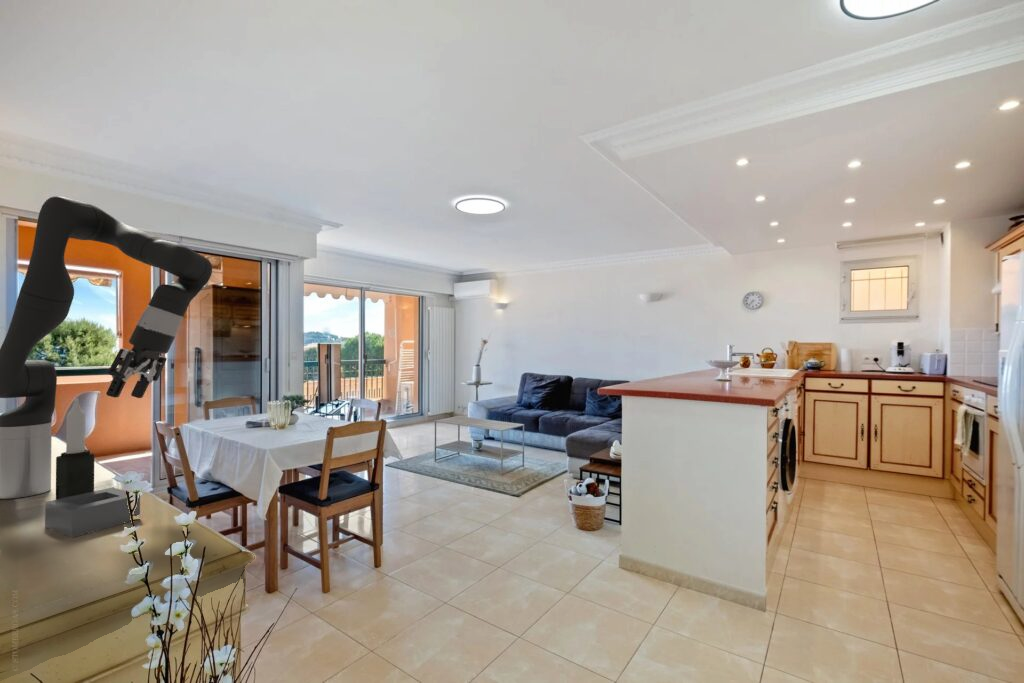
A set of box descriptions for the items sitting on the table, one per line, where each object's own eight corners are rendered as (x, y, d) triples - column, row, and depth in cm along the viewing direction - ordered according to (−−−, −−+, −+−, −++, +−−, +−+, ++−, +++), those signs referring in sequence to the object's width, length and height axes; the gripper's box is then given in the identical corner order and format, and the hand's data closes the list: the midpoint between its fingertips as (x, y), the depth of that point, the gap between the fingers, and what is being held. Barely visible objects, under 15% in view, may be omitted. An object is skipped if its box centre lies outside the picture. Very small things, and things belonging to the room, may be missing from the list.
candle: (96, 511, 102) (97, 397, 102) (67, 519, 97) (69, 400, 98) (81, 509, 104) (82, 397, 104) (52, 517, 99) (54, 399, 99)
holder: (44, 526, 93) (45, 501, 93) (112, 510, 103) (112, 487, 103) (71, 537, 88) (71, 511, 88) (139, 518, 97) (140, 494, 97)
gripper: (157, 329, 113) (127, 392, 110) (120, 318, 99) (83, 390, 96) (189, 339, 114) (159, 402, 111) (156, 330, 100) (121, 401, 97)
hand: (124, 396), depth 104 cm, fingers open, 8 cm apart
